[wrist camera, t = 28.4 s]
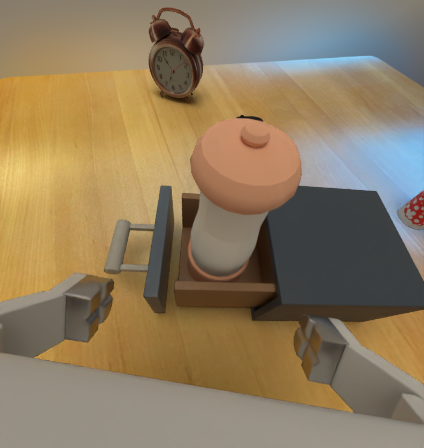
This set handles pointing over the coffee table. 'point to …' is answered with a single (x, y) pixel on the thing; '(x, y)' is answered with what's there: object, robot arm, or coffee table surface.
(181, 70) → the alarm clock
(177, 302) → the drawer
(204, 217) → the salt shaker
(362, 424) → the robot arm
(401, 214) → the beverage cup
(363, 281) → the cabinet
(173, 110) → the coffee table surface
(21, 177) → the coffee table surface
